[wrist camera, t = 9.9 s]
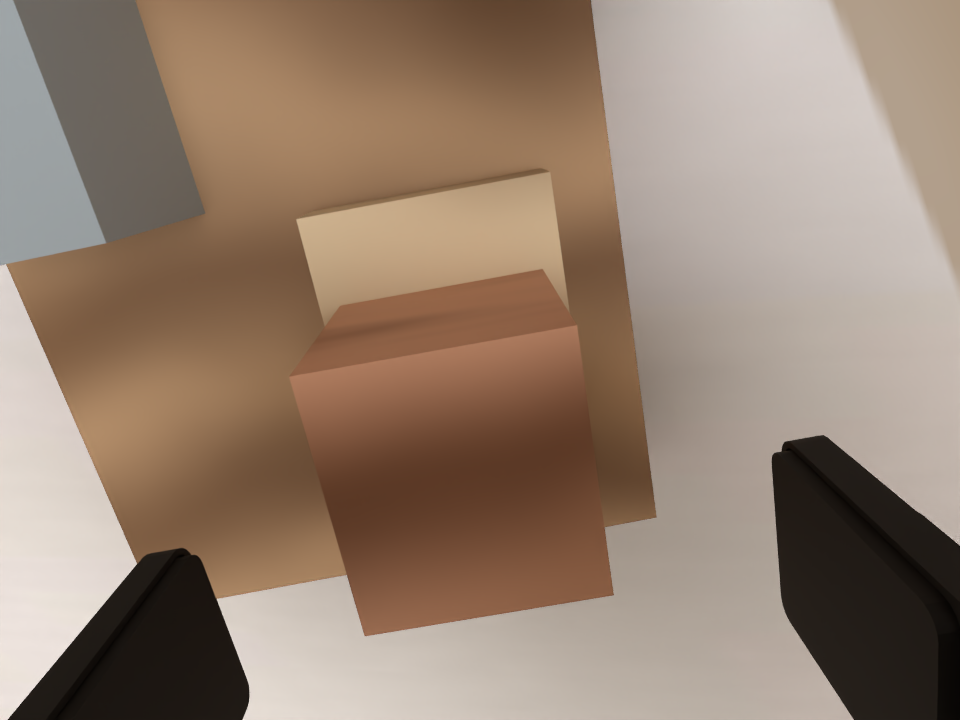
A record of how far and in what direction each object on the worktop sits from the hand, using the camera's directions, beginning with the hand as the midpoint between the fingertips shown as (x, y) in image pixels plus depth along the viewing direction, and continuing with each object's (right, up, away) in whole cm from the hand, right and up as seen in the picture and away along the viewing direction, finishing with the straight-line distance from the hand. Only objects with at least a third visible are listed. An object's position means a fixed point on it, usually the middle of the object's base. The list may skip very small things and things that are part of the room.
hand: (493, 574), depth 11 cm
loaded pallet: (-1, +3, +8) cm, 9 cm away
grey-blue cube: (-10, +9, +6) cm, 15 cm away
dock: (-5, +7, +11) cm, 14 cm away
